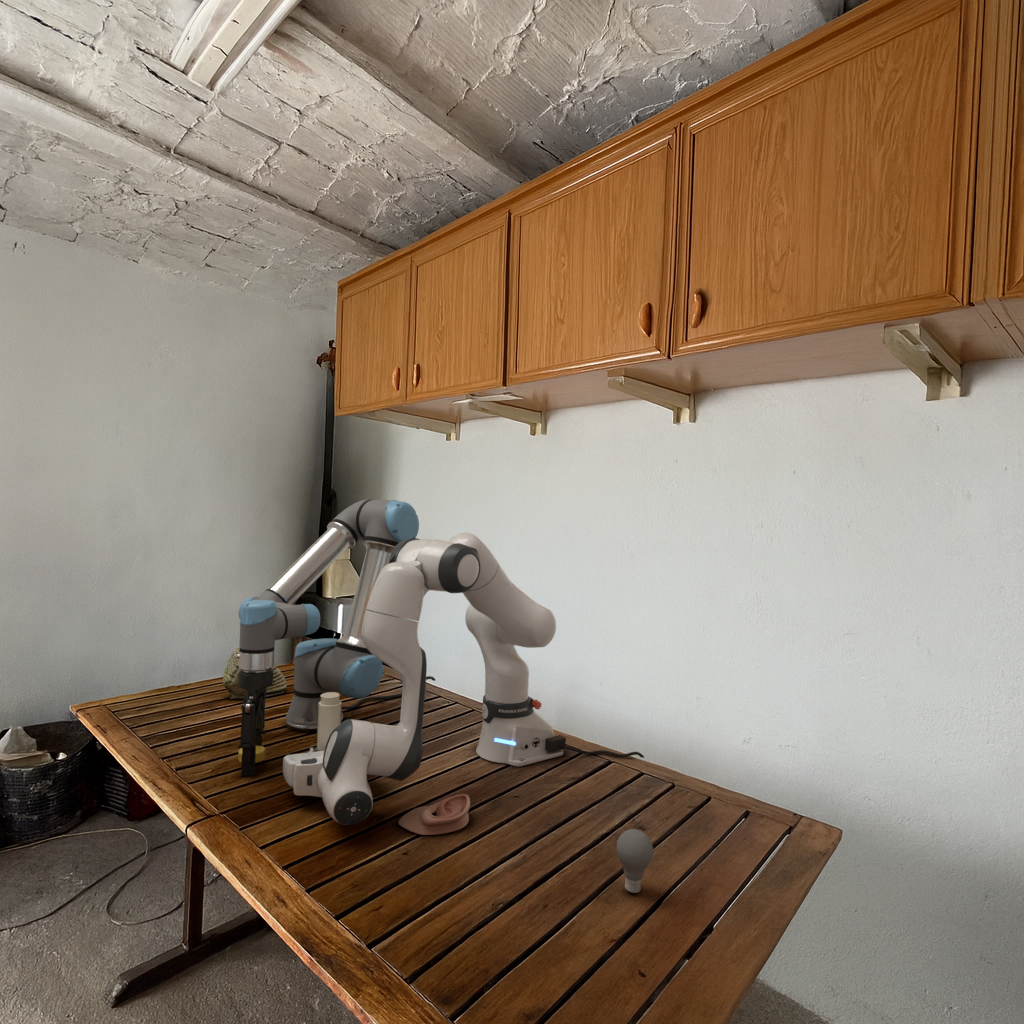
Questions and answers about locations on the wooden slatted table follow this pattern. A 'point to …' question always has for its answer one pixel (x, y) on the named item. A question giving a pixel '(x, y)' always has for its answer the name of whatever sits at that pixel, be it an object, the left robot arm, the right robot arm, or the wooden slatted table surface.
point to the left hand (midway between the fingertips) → (251, 769)
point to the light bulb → (634, 857)
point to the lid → (259, 754)
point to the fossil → (235, 692)
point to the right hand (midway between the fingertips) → (327, 748)
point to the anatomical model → (438, 816)
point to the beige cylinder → (328, 717)
